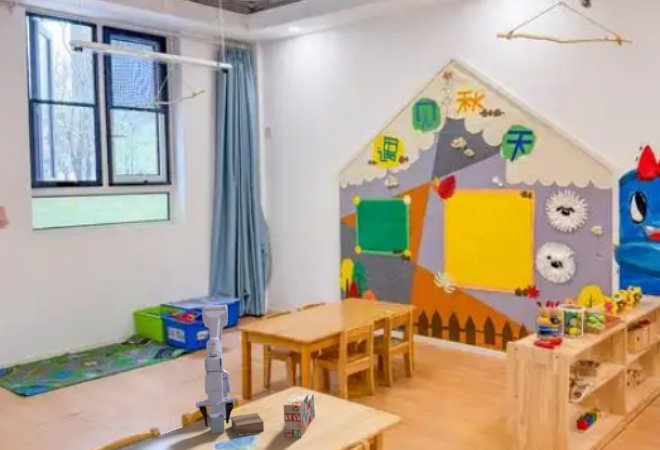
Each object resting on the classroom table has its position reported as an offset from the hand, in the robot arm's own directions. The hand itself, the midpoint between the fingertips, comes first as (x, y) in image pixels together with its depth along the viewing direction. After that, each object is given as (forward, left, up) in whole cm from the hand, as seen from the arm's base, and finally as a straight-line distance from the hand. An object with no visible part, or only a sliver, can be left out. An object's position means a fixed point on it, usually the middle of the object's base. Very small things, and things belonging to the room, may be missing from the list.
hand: (216, 424), depth 251 cm
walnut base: (+2, +11, -3) cm, 12 cm away
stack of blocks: (+8, +30, -3) cm, 31 cm away
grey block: (0, 0, -3) cm, 3 cm away
